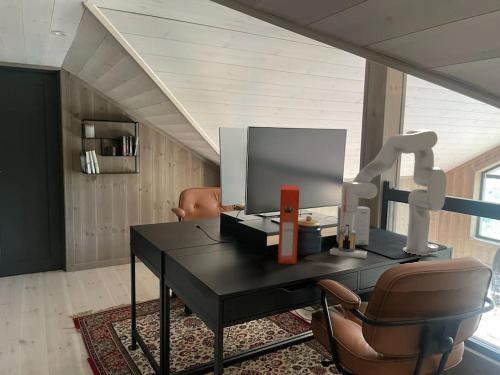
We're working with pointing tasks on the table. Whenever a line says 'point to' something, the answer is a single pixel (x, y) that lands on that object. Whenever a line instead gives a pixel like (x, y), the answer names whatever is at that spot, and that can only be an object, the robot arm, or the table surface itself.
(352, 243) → the carton
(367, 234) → the hard drive box
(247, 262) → the table surface
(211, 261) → the table surface
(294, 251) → the file binder
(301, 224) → the canister
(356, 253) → the shelf board
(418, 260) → the table surface
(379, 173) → the robot arm
